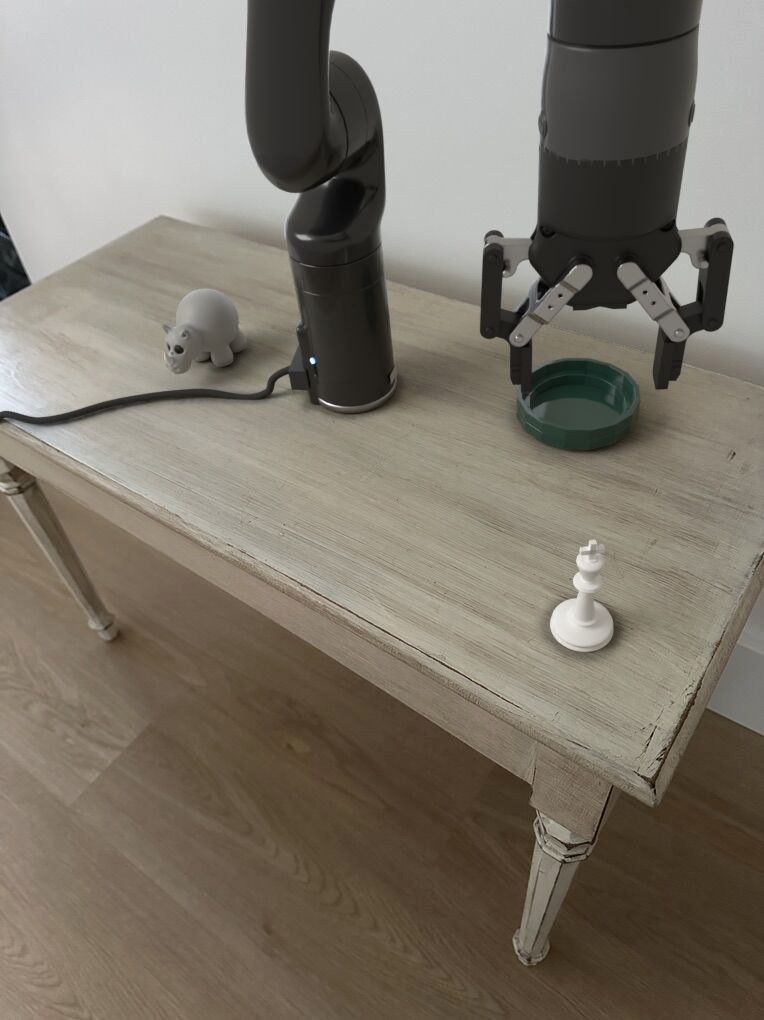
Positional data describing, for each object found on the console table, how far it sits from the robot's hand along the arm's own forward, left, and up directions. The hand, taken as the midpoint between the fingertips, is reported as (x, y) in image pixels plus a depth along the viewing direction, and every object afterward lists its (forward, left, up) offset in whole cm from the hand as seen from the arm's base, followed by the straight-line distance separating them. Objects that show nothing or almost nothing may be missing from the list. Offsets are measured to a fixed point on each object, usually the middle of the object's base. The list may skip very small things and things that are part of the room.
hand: (591, 384), depth 52 cm
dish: (+1, +23, -20) cm, 30 cm away
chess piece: (+1, -4, -21) cm, 21 cm away
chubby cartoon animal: (-42, +31, -21) cm, 56 cm away
